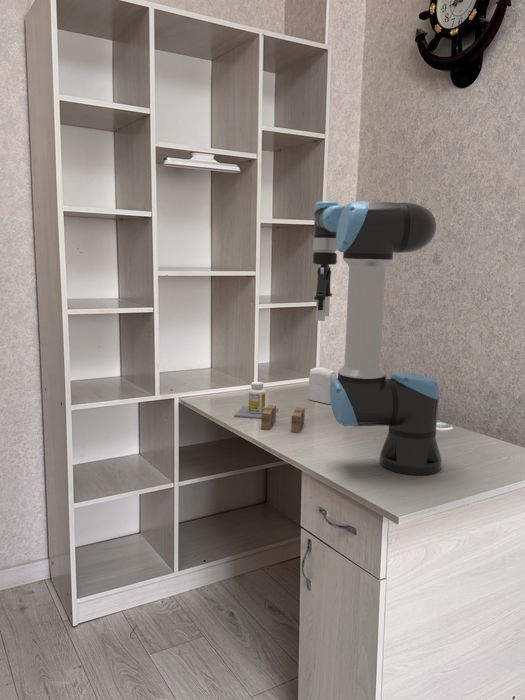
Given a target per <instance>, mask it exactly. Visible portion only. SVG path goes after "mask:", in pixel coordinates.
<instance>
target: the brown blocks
mask: <svg viewBox="0 0 525 700" xmlns="http://www.w3.org/2000/svg"><path fill="white" fill-rule="evenodd" d="M265 408H266V409H265V410H264V411H263V412H262V416H261V419H260V420H261V421H260V423H261V426H260V427H261V428H260V429H261V430H262V431H263V430H264V431H270V430H271V429H272V427H273V426H274V424H275V423H276V419H277V418H276V416H277V412H276V408H277V406H276V405H274V404H273V405H271V404H269V405H267V406H265ZM305 408H306V407H301V406H299V407H298V406H297V407H296V408H295V410H294V411H293V413H292V414H291V421H290V422H291V429H290V432H291V433H299V434H300V433H301V431H302V429H303V427H304V426H305V412H306V411H305Z"/></svg>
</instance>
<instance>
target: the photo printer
mask: <svg viewBox="0 0 525 700" xmlns="http://www.w3.org/2000/svg"><path fill="white" fill-rule="evenodd" d="M308 378H309V379H308V400H310V401H313V402H316V403H323V404H328V405H331V400H330V382H331V380H333V379H335V378H337V375H336V372H335V371H333V370H331V369H330V368H326V367H321V366H319V367H312V368H311V369H310V371H309V377H308Z"/></svg>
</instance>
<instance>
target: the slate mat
mask: <svg viewBox="0 0 525 700" xmlns="http://www.w3.org/2000/svg"><path fill="white" fill-rule="evenodd" d="M265 409H266V407H265ZM278 410H279V408H277V407H276V413H277V412H278ZM261 416H262V413H259V414H255V413H250V412H249V405H243V406H242V407H241V408H239V410H238V411H237V412H236V413H235V414H234V416H233V417H234V418H240V419H241V418H243V419H255V420H261Z"/></svg>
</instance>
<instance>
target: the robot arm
mask: <svg viewBox="0 0 525 700" xmlns="http://www.w3.org/2000/svg"><path fill="white" fill-rule="evenodd" d="M313 214H314V220H313V221H314V225H313V227H314V229H313V231H314V232H313V242H312V243H313V245H312V247H313V249H312V250H313V251H314V252H313V254H312V255H313V256H312V263H313V264H314V265H320V266H319V267H317V268H318V269H317V282H316V283H317V284H316V295H314V300H316V303H315V304H316V311H315V321H316V322H317V321H318V322H319V321H320V322H325V321H326V317H330V302H331V301H330V299H331V297H333V293H332V292H331V275H332V270H331V269H332V268H331V266H332V265H333V266H334V265H336V264H337V263H338V253H337V252H336V251H338V252H340V253H342V260H343V261H344V262H345V263H346V265H347V266H348V283H347V285H348V286H347V301H346V302H347V305H346V324H345V326H346V327H345V347H344V364H343V365H342V367H340V368H339V369H338V371H337V377H336V378H335V379H333V380H331V382H330V400H331V404H330V405H331V410H332V414H333V416H334V419H335V420H336V422H337V424H338V425H340V426H343V427H354V428H358V427H381V426H382V427H387V426H388V433H387V435H386V439H385V441H384V443H383V445H382V448H381V450H380V454H379V463H380V465H381V466H382V467H383V468H385V469H387V470H389V471H392V472H396V473H399V474H405V475H410V476H411V475H412V476H414V475H415V476H425V475H426V476H427V475H432V474H437V473H438V472H439V471H440V470H441V469H442V456H441V453H440V449H439V445H438V441H437V437H436V435H437V423H438V413H439V402H440V394H439V393H440V392H439V391H440V389H439V388H440V386H439V383H438V382H437V381H436V380H435V379H433V378H432V377H429V376H427V375H426V376H425V375H421V374H419V373H418V374H417V373H412V372H405V371H393V372H392V373H391V375H390V378H386V376H387V375H386V372H385V370H384V369H382V367H381V357H382V356H381V353H382V352H381V350H382V337H383V335H382V334H383V321H384V320H383V318H384V298H385V283H386V281H385V280H386V270H387V269H386V268H387V266H388V265H390V264H391V263H392V262H393V260H394V259H393V258H394V253H397V254H398V253H399V254H400V253H401V254H403V253H412V252H416V251H418V250H421V249H423V248H425V247H426V246H428V244H429V243H430V242H431V241H432V240H433V238H434V237H435V235H436V231H437V221H436V218H435V216H434V214H433V213H432V212H431V211H430V210H429V209H428V208H427V207H425V206H423V205H420V204H417V203H412V202H394V201H393V202H391V201H374V200H363V201H351V202H348V203H347V204H346V205H345V206H344V205H341V204H339V203H338V202H337V201H332V200H331V201H327V200H326V201H316V203H315V206H314V212H313ZM330 265H331V266H330Z"/></svg>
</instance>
